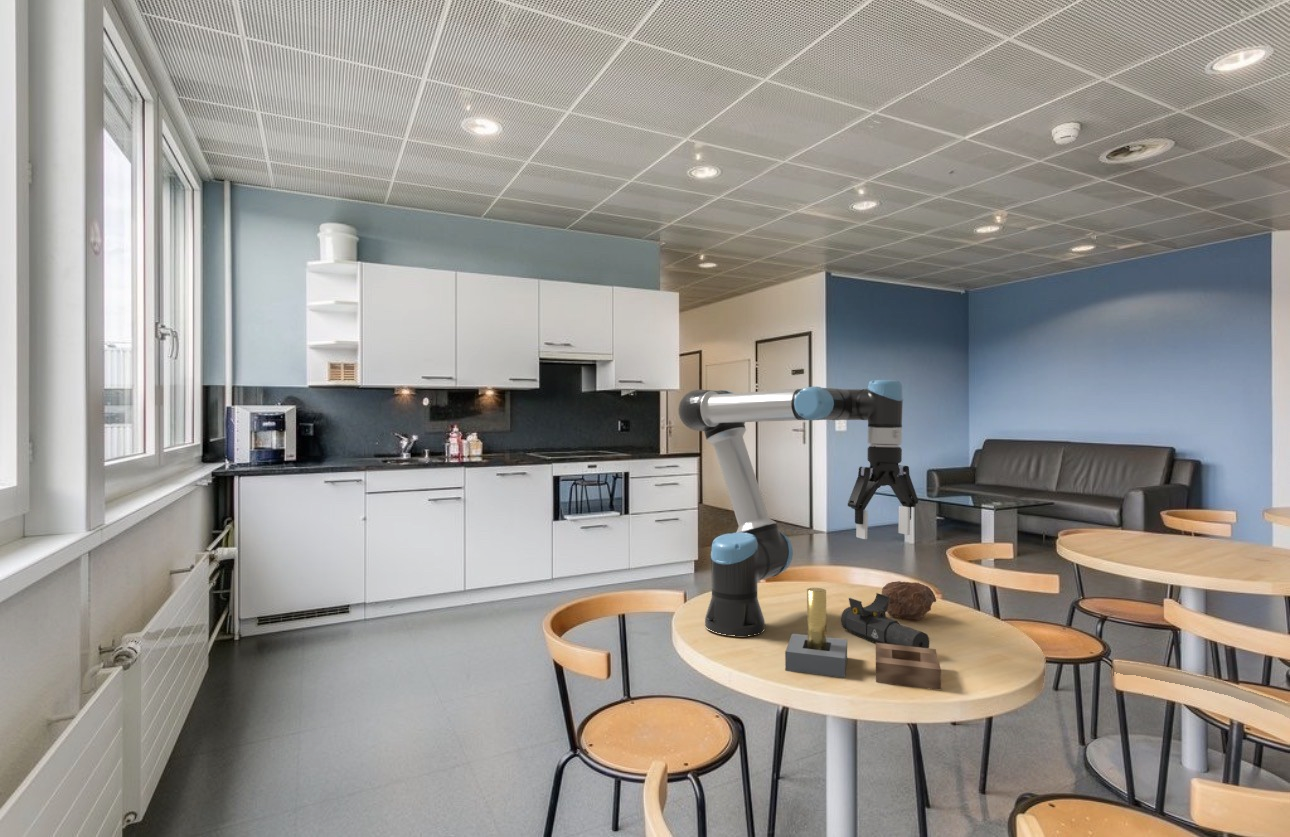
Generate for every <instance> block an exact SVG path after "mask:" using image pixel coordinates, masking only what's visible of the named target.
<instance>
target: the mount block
mask: <svg viewBox="0 0 1290 837" xmlns="http://www.w3.org/2000/svg"><path fill="white" fill-rule="evenodd" d="M826 639H827V651H823V650H814V649H808V641H807V634H799V633H792V634H791V636H790V638H789V641H788V643H787V647H786V649H785V651H784V652H785V653H784V654H785V655H784V657H785V658H784V662H785V664H784V665H785V668H784V670H785V671H789V672H794V673H802V674H803V673H805V674H812V675H817V676H818V675H819V676H820V675H821V676H826V677H827V676H828V677H835V678H843V679H846V677H845V676H846V671H847V663H848V639H845V638H835V637H828V636H826Z"/></svg>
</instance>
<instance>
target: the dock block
mask: <svg viewBox="0 0 1290 837" xmlns="http://www.w3.org/2000/svg"><path fill="white" fill-rule="evenodd" d="M875 682H876V683H880V684H881V683H882V684H888V685H889V684H890V685H896V686H904V687H910V688H911V687H912V688H922V689H927V688H930V689H929V690H935V689H941V690H942V668H941V664H940V661H939V657H938V653H937V650H936V649H935V648H930V647H929V648H920V647H911V646H902V645H893V644H883V643H875Z"/></svg>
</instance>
